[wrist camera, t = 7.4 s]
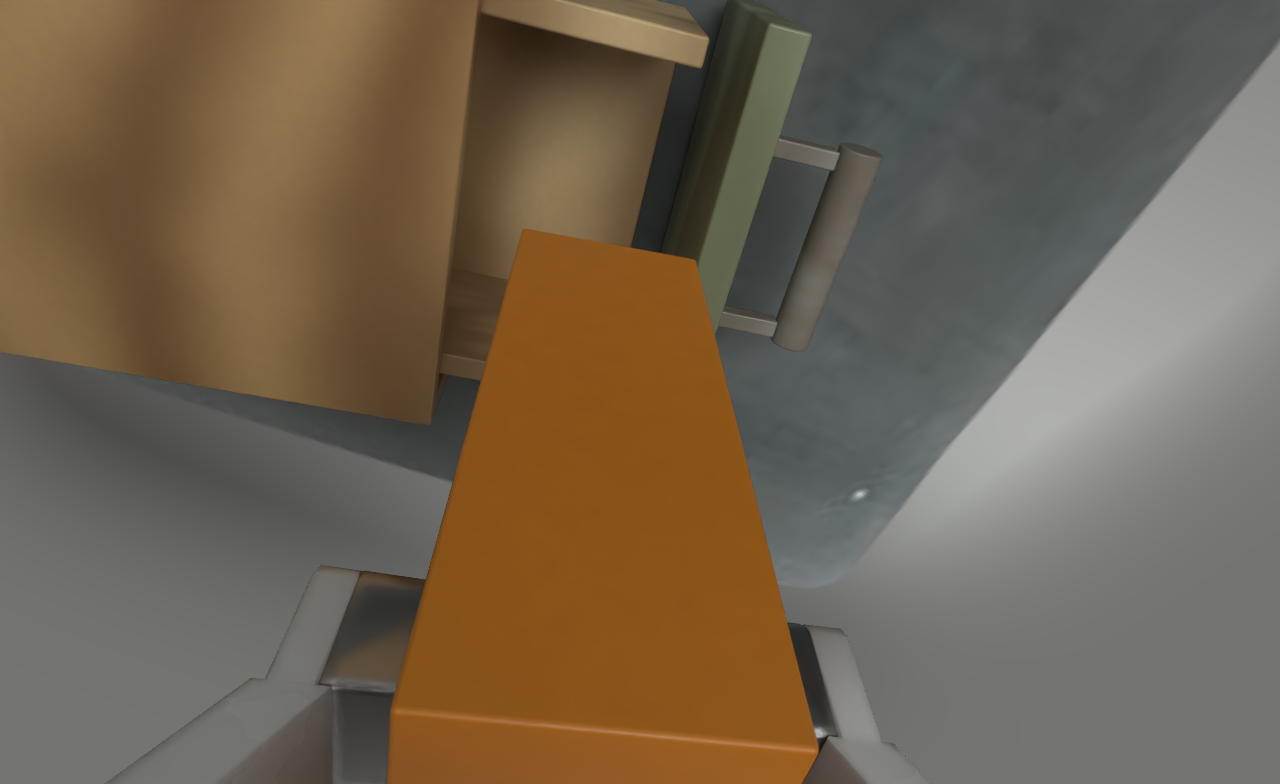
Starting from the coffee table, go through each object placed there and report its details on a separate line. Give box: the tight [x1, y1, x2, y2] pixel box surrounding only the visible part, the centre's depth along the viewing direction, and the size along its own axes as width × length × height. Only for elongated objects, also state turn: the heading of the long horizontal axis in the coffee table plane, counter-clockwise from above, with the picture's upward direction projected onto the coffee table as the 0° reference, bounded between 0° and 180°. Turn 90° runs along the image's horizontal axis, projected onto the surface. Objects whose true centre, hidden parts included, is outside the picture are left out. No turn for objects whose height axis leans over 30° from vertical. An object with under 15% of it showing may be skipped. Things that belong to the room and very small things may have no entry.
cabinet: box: [0, 0, 483, 425], centre depth 24 cm, size 15×14×10 cm
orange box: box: [386, 229, 819, 784], centre depth 12 cm, size 4×4×11 cm
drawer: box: [439, 0, 883, 381], centre depth 25 cm, size 18×13×8 cm
